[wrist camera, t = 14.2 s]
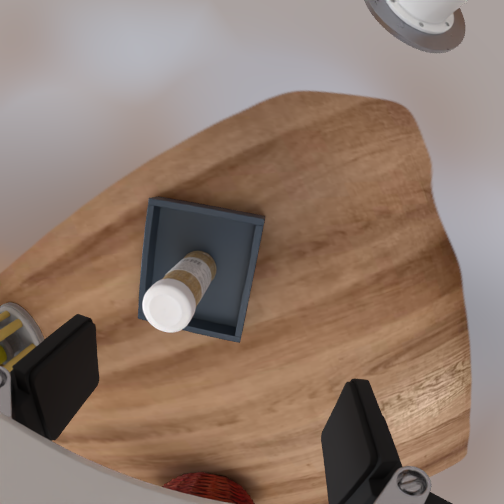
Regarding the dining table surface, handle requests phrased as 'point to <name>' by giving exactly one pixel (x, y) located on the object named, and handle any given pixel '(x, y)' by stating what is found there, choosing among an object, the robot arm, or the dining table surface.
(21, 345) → the lantern
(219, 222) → the tray
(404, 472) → the robot arm
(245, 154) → the dining table surface
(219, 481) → the vase
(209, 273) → the sprinkles bottle
